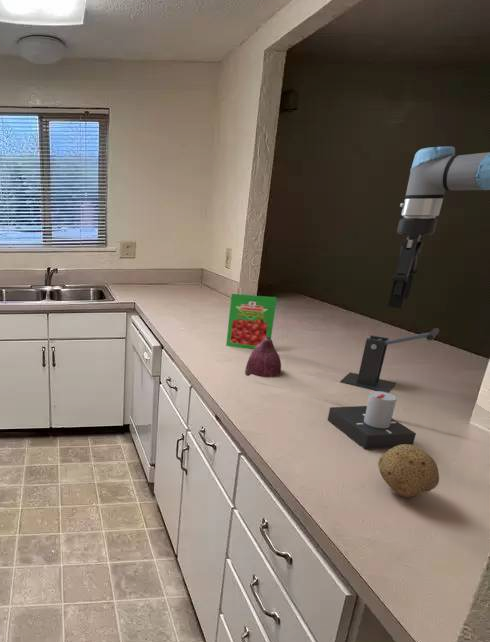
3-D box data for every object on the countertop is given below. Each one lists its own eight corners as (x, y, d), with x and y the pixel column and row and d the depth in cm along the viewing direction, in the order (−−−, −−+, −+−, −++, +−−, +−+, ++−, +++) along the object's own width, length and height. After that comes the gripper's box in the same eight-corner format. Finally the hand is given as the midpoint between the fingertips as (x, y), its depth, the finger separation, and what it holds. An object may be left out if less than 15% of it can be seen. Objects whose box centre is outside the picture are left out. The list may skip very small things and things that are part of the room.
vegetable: (274, 391, 133) (287, 351, 124) (240, 381, 137) (250, 342, 128) (281, 373, 140) (293, 334, 131) (248, 364, 144) (258, 325, 135)
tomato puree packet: (225, 346, 165) (231, 293, 158) (226, 345, 166) (231, 293, 159) (268, 351, 158) (276, 297, 151) (269, 350, 159) (276, 297, 152)
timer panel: (412, 447, 96) (416, 432, 95) (364, 449, 95) (368, 434, 94) (369, 418, 109) (372, 404, 108) (327, 419, 108) (330, 406, 107)
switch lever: (440, 334, 116) (437, 325, 116) (434, 341, 110) (432, 332, 110) (376, 346, 127) (373, 338, 127) (367, 353, 121) (365, 345, 121)
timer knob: (370, 416, 102) (377, 388, 100) (393, 424, 98) (401, 395, 96) (359, 422, 100) (366, 393, 97) (383, 430, 96) (390, 401, 93)
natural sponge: (360, 482, 84) (371, 437, 81) (398, 475, 86) (410, 431, 83) (402, 512, 76) (416, 463, 73) (442, 504, 78) (458, 456, 74)
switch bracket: (394, 387, 127) (407, 338, 122) (386, 397, 120) (399, 347, 115) (349, 376, 135) (358, 330, 130) (338, 385, 128) (348, 338, 123)
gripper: (406, 215, 117) (388, 293, 125) (393, 218, 100) (373, 309, 107) (441, 216, 113) (420, 296, 120) (433, 219, 95) (410, 313, 102)
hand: (398, 302), depth 114 cm, fingers open, 13 cm apart
